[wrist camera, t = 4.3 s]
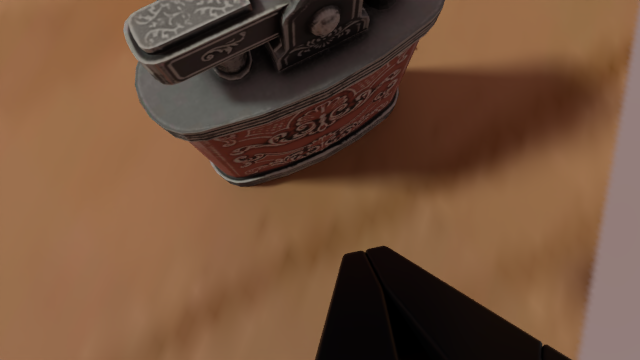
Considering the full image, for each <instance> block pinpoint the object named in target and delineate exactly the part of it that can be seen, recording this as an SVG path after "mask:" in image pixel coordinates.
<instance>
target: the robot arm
mask: <svg viewBox="0 0 640 360" xmlns="http://www.w3.org/2000/svg"><path fill="white" fill-rule="evenodd" d="M315 360H571V359H570V358H568V357H566V356H565V355H563V354H562V353H560V352H558V351H557V350H555V349H553V348H552V347H550V346H549V345H543V347H542V343H541V341H539V340H537V339H536V338H534V337H533V336H531V335H529V334H528V333H526V332H524V331H523V330H521V329H520V328H518V327H516V326H515V325H513V324H511V323H510V322H508V321H507V320H505V319H503V318H502V317H500V316H499V315H497V314H495V313H494V312H492V311H490V310H489V309H487V308H486V307H484V306H482V305H481V304H479V303H477V302H476V301H474V300H473V299H471V298H469V297H468V296H466V295H465V294H463V293H461V292H460V291H458V290H456V289H455V288H453V287H452V286H450V285H448V284H447V283H445V282H443V281H442V280H440V279H439V278H437V277H435V276H434V275H432V274H431V273H429V272H427V271H426V270H424V269H422V268H421V267H419V266H418V265H416V264H414V263H413V262H411V261H409V260H408V259H406V258H405V257H403V256H401V255H400V254H398V253H397V252H395V251H393V250H392V249H390V248H388V247H386V246H380V247H376V248H371V249H367V250H366V252H364V251H357V252H352V253H347V254H345V255H344V256H343V258H342V262H341V265H340V269H339V273H338V276H337V280H336V284H335V288H334V291H333V295H332V299H331V302H330V306H329V310H328V313H327V317H326V321H325V325H324V328H323V332H322V336H321V339H320V343H319V347H318V350H317V354H316V358H315Z"/></svg>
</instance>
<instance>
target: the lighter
mask: <svg viewBox="0 0 640 360" xmlns="http://www.w3.org/2000/svg"><path fill="white" fill-rule="evenodd" d="M444 1H445V0H158V1H156V2H154V3H152V4H150V5H147V6H145V7H143V8H141V9H139V10H137V11H136V12H134V13H132V14H131V15H130V16H129V18H128V19H127V20H126V21H125V25H124V30H123V31H124V35H125V38H126V41H127V44H128V46H129V48H130V50H131V52H132V53H133V54H134V56H135V57H136V59H137V60H138V61H139V62H138V64H137V66H136V76H135V87H136V91H137V94H138V98H139V101H140V103H141V105H142V106H143V108H144V109H145V111H146V112H147V114H148V115H149V117H150V118H151V119H152V120H154V121H155V122H156V123H157V124H159V125H160V126H161V127H162V128H164V129H165V130H166V131H168V132H169V133H170V134H172V135H173V136H174V137H176V138H179V139H183V140H186V141H189V142H190V143H191V144H192V145H193V146H194V147H195V148H197V149H198V150H199V151H200V152H201V153H202V154H203V155H204V156H206V157H207V158H208V159H209V160H210V163H211V165H212V166H213V168H214V169H215V171H216V172H217V173H218V174H219V175H220V176H221V177H223V178H224V179H225V180H227V181H228V182H229V183H231V184H233V185H237V186H240V187H244V186H252V185H256V184H259V183H263V182H266V181H270V180H273V179H277V178H280V177H284V176H287V175H290V174H292V173H294V172H297V171H299V170H301V169H304V168H306V167H309V166H311V165H313V164H316V163H318V162H321V161H323V160H325V159H327V158H328V157H330V156H332V155H333V154H335V153H337V152H338V151H340V150H342V149H343V148H345V147H347V146H348V145H350V144H352V143H354V142H355V141H357V140H358V139H360V138H361V137H362V136H363V135H365V134H366V133H367V132H369V131H370V130H371V129H373V128H374V127H375V126H376V125H378V124H379V123H380V122H382V121H383V120H384V119H386V118H387V116H388V115H389V114H390V113H391V112H392V110H393V108H394V106H395V104H396V101H397V98H398V95H399V91H398V86H399V83H400V81H401V79H402V77H403V75H404V72H405V70H406V68H407V66H408V64H409V61H410V59H411V57H412V55H413V53H414V50H415V48H416V46H417V44H418V42H419V39H420V38H422V37H423V36H424V35H426V33H427V32H428V31H429V30H430V29H431V28H432V26H433V25H434V24H435V22H436V20H437V18H438V16H439V14H440V12H441V10H442V8H443V5H444Z"/></svg>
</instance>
